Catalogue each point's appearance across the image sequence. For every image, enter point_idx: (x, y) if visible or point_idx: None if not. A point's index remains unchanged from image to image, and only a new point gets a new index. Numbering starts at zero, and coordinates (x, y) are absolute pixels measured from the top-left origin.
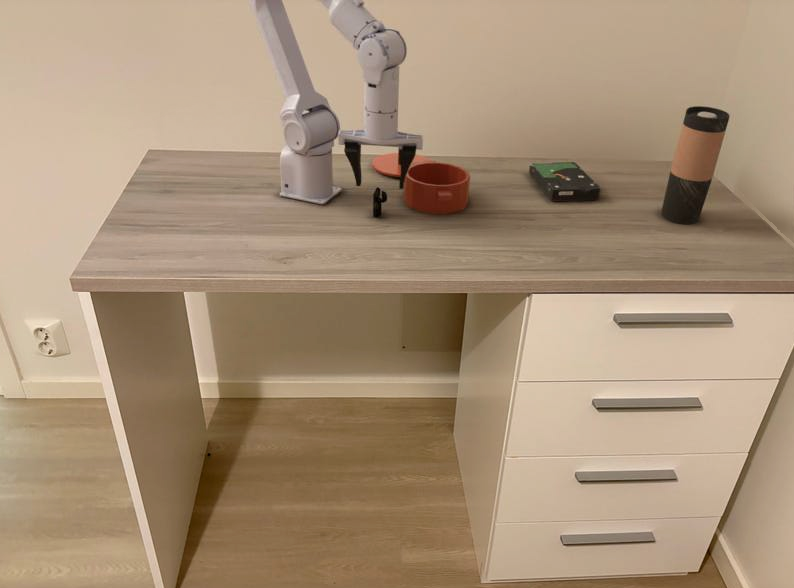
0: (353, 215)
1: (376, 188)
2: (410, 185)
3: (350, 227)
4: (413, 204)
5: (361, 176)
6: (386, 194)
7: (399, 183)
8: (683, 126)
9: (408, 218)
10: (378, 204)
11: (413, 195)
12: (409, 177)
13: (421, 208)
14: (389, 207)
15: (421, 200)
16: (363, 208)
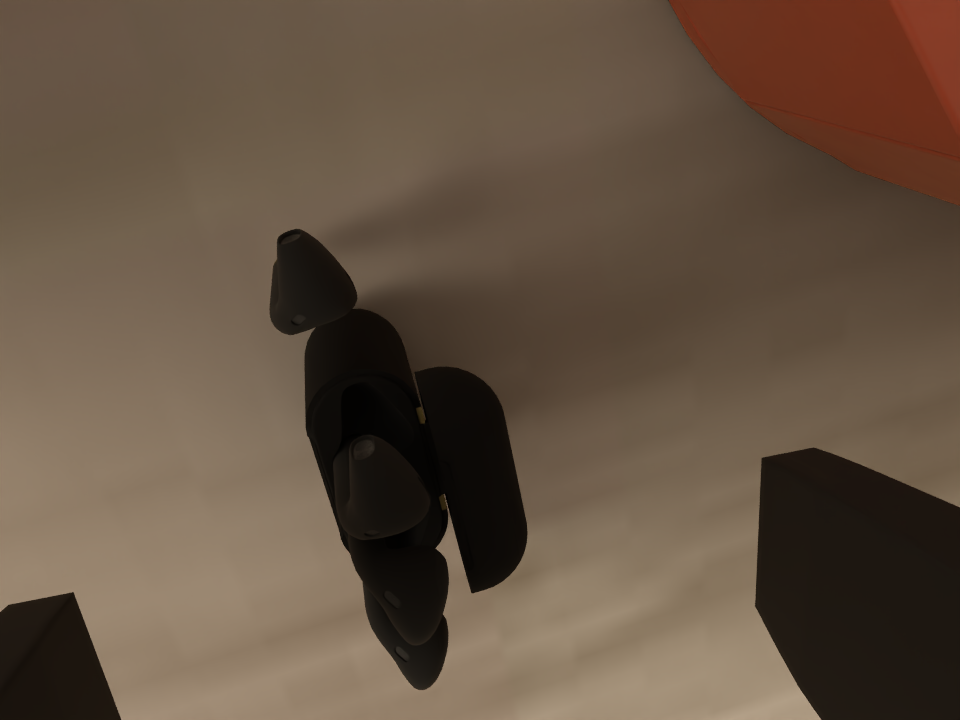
0: (108, 467)
1: (367, 529)
2: (864, 78)
3: (188, 701)
4: (770, 112)
5: (38, 648)
6: (508, 454)
7: (804, 693)
8: None
9: (696, 353)
10: (444, 660)
11: (833, 130)
12: (925, 8)
13: (852, 165)
14: (457, 127)
15: (912, 187)
16: (148, 252)
